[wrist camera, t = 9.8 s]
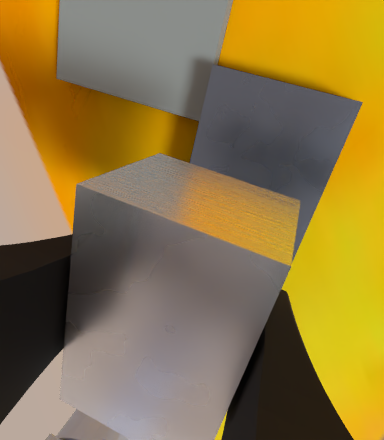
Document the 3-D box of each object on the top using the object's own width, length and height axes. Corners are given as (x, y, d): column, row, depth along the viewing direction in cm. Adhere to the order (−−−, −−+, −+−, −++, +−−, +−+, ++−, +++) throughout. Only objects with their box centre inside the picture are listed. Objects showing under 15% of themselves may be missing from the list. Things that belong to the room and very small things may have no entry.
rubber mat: (204, 120, 19) (199, 121, 18) (65, 78, 21) (56, 78, 20) (256, -99, 15) (253, -109, 14) (75, -123, 17) (65, -132, 16)
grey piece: (270, 300, 22) (265, 323, 19) (176, 261, 23) (162, 278, 21) (356, 101, 16) (362, 102, 14) (225, 68, 18) (212, 64, 15)
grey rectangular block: (231, 367, 12) (197, 477, 9) (128, 317, 13) (59, 399, 10) (300, 200, 9) (290, 266, 6) (159, 153, 10) (76, 184, 7)
